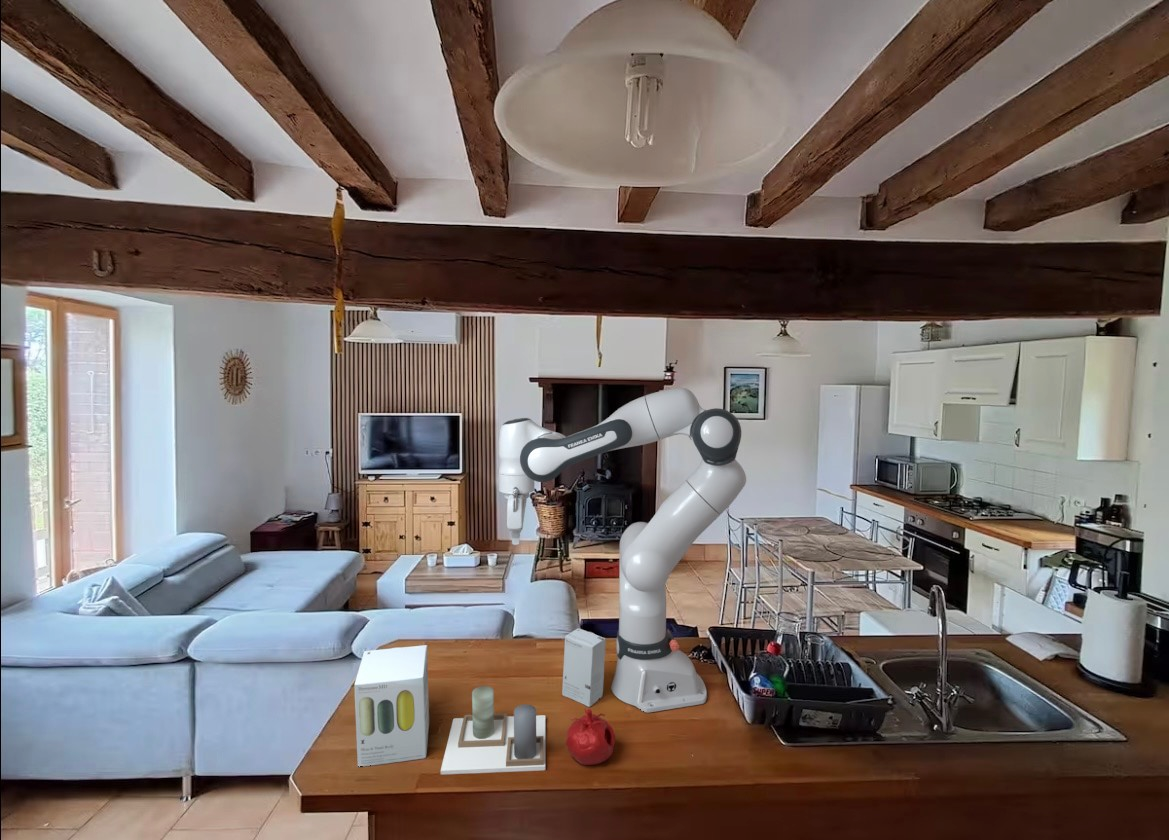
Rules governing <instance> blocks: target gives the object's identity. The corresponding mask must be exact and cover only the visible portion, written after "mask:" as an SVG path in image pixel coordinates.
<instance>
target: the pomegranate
mask: <svg viewBox="0 0 1169 840" xmlns="http://www.w3.org/2000/svg"><path fill="white" fill-rule="evenodd" d="M584 712H585V715H582V716H581V717H579V718H577V717H575V718H570V719H569V720H570V721H573V722H572V723H571V725H570V726H569V727H568V729H567V733H566V740H565V744H566V748H567V751H568V753H569V755H570V756H571V757H573V759H574V760H575V761H577V762H578V763H579V764H581V765H584V766H585V765H588V766H589V765H590V766H591V765H593V766H594V765H598V764H601V763H603V762H605V761H607V760H608V759H609V758H610V757H611V756H612V754H613V751H614V746H615V741H616V737H615V736H616V734H615V731H614V728H613V727H612V725H610V724H609V723H608V721H607V720H606V719H603V718H602V717H605V715H606V713H605V714H603V713H599V714H597V715H596V714H594V713H593V711H592V709H590V708H589V709H586V708H585V709H584ZM601 716H602V717H601ZM574 720H575V721H574Z"/></svg>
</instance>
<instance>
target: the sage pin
mask: <svg viewBox="0 0 1169 840" xmlns="http://www.w3.org/2000/svg"><path fill="white" fill-rule="evenodd" d="M494 695H495V693H494V688H493V687H491V686H488V685H482V686H478V687H475V688H474V689H473V690H472V692H471V701H472V702H471V703H472V704H471V705H472V706H471V707H472V712H471V713H472V714H471V715H472V716H473V736H474V737H476V738H478V739H486V738H489V737H490V736H492V735H493V733H494V714H495V709H494V708H495V707H494V705H495V702H494V701H495V700H494Z"/></svg>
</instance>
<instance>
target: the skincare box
mask: <svg viewBox="0 0 1169 840" xmlns="http://www.w3.org/2000/svg"><path fill="white" fill-rule="evenodd" d="M606 643H607V639H606V637H604V636H603V637H602V636H600V635H597V634H595V633H594V632H592V631H587V630H584V629H582V628H576V629H574V630H573V631H571V632H569V633H568V634H566V635H564V649H563V650H564V651H563V652H564V653H563V654H564V655H563V666H562V667H563V671H562V688H561V689H562V691H561V694H562V696H563V697H565V698H567V699H570V700H572V701H575V702H578V703H579V704H582V705H584V706H586V707H588V708H590V707H591V706H593V705H594V704H596V702H598V701H599V700H600V699H601V698H602V697H603V696H604V695H603V694H604V677H605V662H606V661H605V659H606V657H605V656H606ZM599 698H600V699H599ZM598 699H599V700H598Z"/></svg>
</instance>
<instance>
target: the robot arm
mask: <svg viewBox="0 0 1169 840" xmlns="http://www.w3.org/2000/svg"><path fill="white" fill-rule="evenodd" d="M677 435H684V436H688V438H689V439H690V440H691V441H692V444H693V446H694V447H695V449H696V451H698V453H699V454H700V457H701V462H700V464H699V466H698V467H697V468H696V470H695V471H693V472H692V473H691V474H690V476H688V477H687V478H686V479H685V480H684V481H682V484H680V485H679V486H678V487H677V488H676V489H675V490H674V491H673V492H672V493H671V494H670V495H669V496H668V497H667V498H666V499H665V500H664V501H662V503H661V504H660V506H659V508H658V510H657V511H656V513H655V514H654V515H653V517H651V519H650V521H648V522H645V521H637V522H633V523H631V524H630V525H629V526H627V528H626V529H625V530H624V531H623V533H622V534H621V537H620V540H619V564H618V565H619V569H618V570H619V579H618V580H619V581H618V583H619V586H618V587H619V592H618V593H619V603H618V604H619V609H618V610H619V612H618V613H619V615H618V630H617V631H616V632H617V634H616V635H617V636H616V648H615V649H616V654H617V659H616V667H615V672H614V675H613V680H612V683H611V688H610V689H611V691H612V693H613V695H614V696H615V697H616V698H617V699H619V700H620V701H622V702H623V703H625V704H628V705H631V706H634V707H636V708H638V709H639V710H640V709H641V710H640V711H642V712H643V711H644V712H643V713H648V714H649V713H653V712H654V713H655V712H661V711H667V710H672V709H673V710H674V709H679V708H684V707H685V708H686V707H692V706H697V705H703V704H705V703H706V701H707V698H708V694H707V693H708V692H707V688H706V684H705V682H704V680H703V679H702V677H701V676H700V675H699V674H698V673H697V672H696V667H695V666H694V664H693V662H692V660H691V659H690V658H689V656H688V655H687V654H686V653H684V652H683V651H681V650H680V644H679V643H678V641H677V640H676V639H675V638H674V635H673V634H672V633H671V631H670V630H669V629H668V628H667V592H666V589H667V588H666V583H667V581H668V579H669V577H670V575H671V573H672V571H673V570H674V569H675V567H676V566H677V565H678V563H680V562H681V559H682V558H683V557H684V555H685V554H686V553H687V552H688V550H689V549H690V547H691V546H692V545H693V543H694V542H695V541H696V539H698V538H699V537H700V536H701V535H702V534H703V532H705V531H706V530H707V528H708V527H710V526H711V525H712V524H713V523H714V522H715V521H716V520H717V519H718V518H719V517H720V516H721V515H722V514H723V513H724V512H725V511H726V510H727V509H728V508H729V507H730V506H731V505H732V503H733V502H734V501H735V500H736V498H737V497H738V496H739V495H740V493H741V492H742V490H743V489H744V487H745V486H746V484H747V475H746V471H745V469H744V468H743V467H742V465H741V464H740V463H739V462H738V461H737V459H736V458H737V455H738V454H737V453H738V452H739V446H740V444H741V439H742V427H741V423H740V422H739V420H738V418H737V417H736V416H735V415H734V414H733V413H732V412H730V411H728V410H726V409H723V408H715V407H714V408H710V409H707V410H706V409H703V408H702V406H701V405H700V403H699V400H698V398H697V396H696V395H695V394H694V393H693V392H692V391H691V390H690V389H688V388H687V387H675V388H674V387H673V388H669V389H664V390H659V391H657V392H652V393H648V394H646V395H643V396H641V397H638V398H636V399H634V400H631V401H629V402H628V403H625V404H624V405H622V406H621V407H619V408H617V410H615V411H614V412H613V413H612V414H610V415H609V417H607V418H606V419H604V420H602V421H601V422H600V423H598V424H597V425H594V426H592V427H589V428H586V429H584V430H582V431H578V432H576V433H573V434H571V435H567V436H566V435H565V434H564V433H560V432H556V431H554V430H550V429H548V428H545V427H542V426H541V425H539V424H537V423H535V422H534V421H533V420H532V419H531V418H529V417H522V418H521V417H520V418H514V419H511V420H507V421H505V422H503V424H501V426H500V429H499V434H498V443H497V444H498V447H497V449H498V453H497V454H498V458H499V468H498V492H500V493H502V494H503V498H504V499H507V501H506V530H507V531H508V532H511V533H510V534H511V544H512V545H513V546H517V545H520V541H521V540H520V539H521V538H520V536H521V532H522V530H523V528H524V521H525V520H524V519H525V513H526V512H525V511H526V507H527V499H528V498H530V493H532V492H534V491H535V482H538V483H548V482H550V481H552V480H553V481H554V479H556V478H557V477H558V476H559V475H560V474H561V473H563V471H564V470H565V469H567V468H569V467H570V466H572V465H573V464H577V463H579V462H582V461H585V460H587V459H590V458H592V457H596V456H598V455H602V454H604V453H607V452H612V451H616V450H620V449H625V448H626V449H627V448H633V447H638V446H643V445H647V444H652V443H655V442H657V441H661V440H664V439H666V438H670V437H672V436H677Z"/></svg>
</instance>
